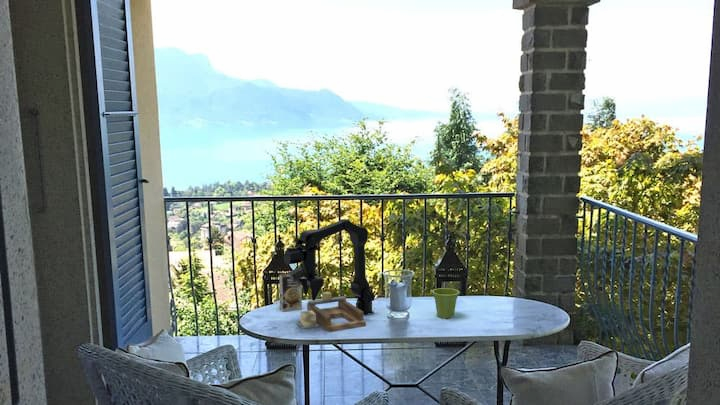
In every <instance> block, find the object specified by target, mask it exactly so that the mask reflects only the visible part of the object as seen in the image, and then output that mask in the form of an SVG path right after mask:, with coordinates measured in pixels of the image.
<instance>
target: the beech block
mask: <svg viewBox="0 0 720 405" xmlns="http://www.w3.org/2000/svg"><path fill="white" fill-rule="evenodd" d="M300 322H301V324H302V325H303V326H304V327H307V326H314V325H316V323H317V322H316V314H315V313H314V312H313V311H312V310H311V311H307V310H305V311H300Z"/></svg>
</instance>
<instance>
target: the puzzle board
mask: <svg viewBox="0 0 720 405" xmlns="http://www.w3.org/2000/svg"><path fill="white" fill-rule="evenodd" d="M311 310H312V311H313V312H314V313H315V314H316V323H317V324H318V325H319V326H320V327H322V329H324V330H325V331H327V332H328V333H330V332H337V331H342V330H349V329H355V328H361V327H366V326H367V321H366V320H365V318H364V316H365V315H364V312H363V311H361V310H360V309H358V308H357V307H356V305H353V304H352V303H351V302H349V301H347V300H346V301H339V302H337V306H330V307H322V308H319V307H318V306H317V305H310V304H308V302H307V303H306V311H311ZM339 318H343V319H345V320H346V321H348V322H342V323H334V322H333V321H332V319H339Z"/></svg>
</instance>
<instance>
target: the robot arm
mask: <svg viewBox="0 0 720 405" xmlns="http://www.w3.org/2000/svg"><path fill="white" fill-rule="evenodd" d="M342 231H344V232H346V233H348V235H349V239H350V240H349V241H351V244H352V247H353V263H354V266H353V267H354V278H353V280H351V281H350V282H349V283H350V291H351V294H353V296H354V298H355V299H356V302H355V307H357V308H358V309H360V310H361V311H363V312H364V316H365V315H372V314H374V313H375V312H374V311H373V302H374V301H375V298H376V296H375V294H374V293H373V292H372V291H371V289H370V288H371V287H370V283H369V282H368V278H367V275H366V274H367V273H366V254H365V253H366V252H365V251H366V250H365V245H366V244H367V242H368V238H369V237H368V236H369V231H368V229H367V228H366V227H364V226H359V225H357V224H356V223H353V222H352V221H350V220H348V219H345V218H344V219H343V218H342V219H339V220H338V221H336V222H333V223H331V224H328V225H326V226H323V227H320V228H316V229H308V230H303V231H302V232H301V233H300V235H299V238H298V240H297V241H296V243H295V245H294V246H293V247H286V250H285V252H284V254H283V259H284V262H285V264H286V265H293V264H294V265H295V264H299V267H297V268H294V269H292V270H290V271H289V272H288V274H289V275H290V278H291V280H293V281H297V280H299V281H300V282H301V285H302V292H303V294H304V296H307V295H308V292H309V289H310V294H311V300H317V299H316V298H317V297H318V294H319V292H320V291H321V289H322V287H323V286H324V285H325V279H324V278H322V277H321V276H319V275H318V272H317V267H318V266H319V265H318V263H317V261H316V260H317V254H316V251H320V250H321V247H320V246H318V244H319V243H321V241H322V240H324V239H325V238H328V237H330V236H333V235H335V234H338V233H340V232H342Z"/></svg>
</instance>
